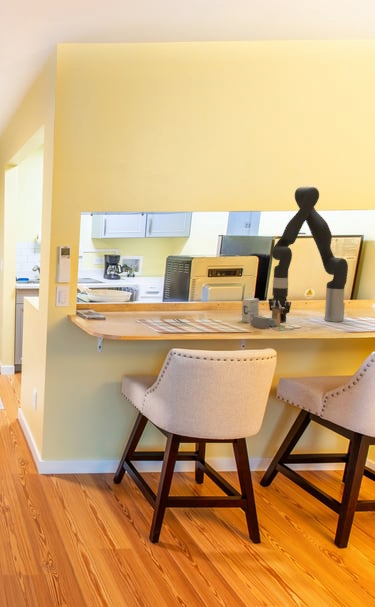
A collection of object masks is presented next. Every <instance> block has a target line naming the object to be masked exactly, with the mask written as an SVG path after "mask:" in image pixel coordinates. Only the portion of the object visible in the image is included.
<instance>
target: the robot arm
mask: <svg viewBox="0 0 375 607" xmlns="http://www.w3.org/2000/svg"><path fill="white" fill-rule="evenodd" d="M319 198H320V191H319V190H318V188H317V187H315V186H300V187H298V188H296V190H295V192H294V200H295V203H296V205H297V207H298V208H299V209H298V210H297V212H296V213H295V214H294V216H292V218H290V220H289V221H288V223H287V224H286V226H285V228H284V230H283V233H282V234H281V237H280V238H279V239H278V240H277V242H276V243H275V244H274V246H273V248H272V251H271V256H272V258H273V260H276V261H278V264H277V265H276V266H274V267H273V280H272V292H271V293H272V298H268V306H269V311H270V312H272V308H280V309H281V321H282V322H284V321H285V319H286V320H287V314H289V313H290V311H291V306H292V302H291V301H288V299H287V297H288V294H289V269H290V265H291V263H292V258H293V251H292V249H291V248H290V246H291V245H294V244H295V242H296V240H297V238H298V236H299V234H300V231H301V229H302V227H303V226H304V223H305V222H306V224H307V227H308V228H309V231H310V234H311V236H312V238H313V241H314V242H315V245H316V247H317V250H318V253H319V256H320V258H321V263H322V265H323V268H324V271H325V272H326V273H327V275H330V276H331V275H332V276H333V277H332V280H330V281H328V282H327V283H326V286H325V287H326V288H325V290H326V291H325V307H324V309H325V310H324V320H325V321H327V322H333V323H334V322H335V323H341V322H343V321H344V320H345V319H344V318H345V287H346V284H347V281H348V280H347V279H348V271H349V265H348V261H347V260H346V259H345V258H342V257H335V255H334V253H333V250H332V247H331V245H332V239H333V238H332V235H333V234H332V231H331V229H330V227H329V225H328V223H327V221H326V220H325V218H324V217H322V215H321V214H320V213H319V212H318V211H317V210H316V209H315V206H316V204H318V201H319ZM283 309H284V311H283ZM285 317H286V318H285Z"/></svg>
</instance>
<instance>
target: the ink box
mask: <svg viewBox="0 0 375 607" xmlns="http://www.w3.org/2000/svg"><path fill="white" fill-rule="evenodd" d="M259 301H260V299H259V298H252V297H251V298H245V299H242V304H241V306H242V307H241V309H242V310H241V322H242V323H249V324H251V320H253V316H260V315H259V314H260V313H259V310H260V309H259V308H260V307H259V306H260V305H259V303H260V302H259Z"/></svg>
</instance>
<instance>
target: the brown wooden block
mask: <svg viewBox="0 0 375 607" xmlns="http://www.w3.org/2000/svg"><path fill="white" fill-rule="evenodd" d="M283 311H284V309H283ZM277 313H280V317H279V320H280V324H286V323H287V316H286V317H285V318H286V319H285V321H284V322H282V321H281V309H280V308H272V311H271V318H274V319H277Z"/></svg>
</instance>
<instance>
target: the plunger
mask: <svg viewBox="0 0 375 607" xmlns="http://www.w3.org/2000/svg"><path fill="white" fill-rule="evenodd" d="M279 317H280V313H277V319H274V318H272V317H268V318H269V327H271V328H273V327H280V326H282V327H285V326H286V325H284V324H281V323H280V320H279Z"/></svg>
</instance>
